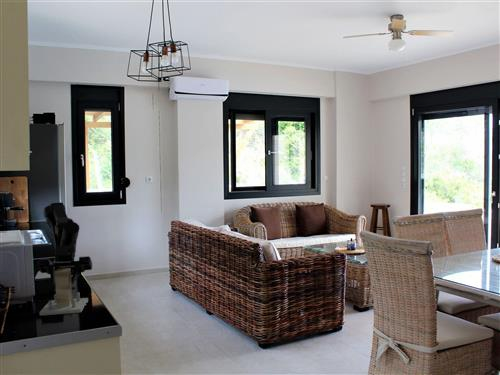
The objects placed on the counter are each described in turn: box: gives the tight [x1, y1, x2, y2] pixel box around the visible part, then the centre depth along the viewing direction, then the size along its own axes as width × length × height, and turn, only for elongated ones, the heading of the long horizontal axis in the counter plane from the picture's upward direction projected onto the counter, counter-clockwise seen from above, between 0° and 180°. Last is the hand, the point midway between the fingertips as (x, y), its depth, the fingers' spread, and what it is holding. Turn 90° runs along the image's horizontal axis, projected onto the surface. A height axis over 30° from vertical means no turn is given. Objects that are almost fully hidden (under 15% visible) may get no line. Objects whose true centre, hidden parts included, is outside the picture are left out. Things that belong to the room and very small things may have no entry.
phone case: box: [34, 270, 51, 282], centre depth 227 cm, size 9×2×16 cm
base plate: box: [39, 292, 89, 316], centre depth 176 cm, size 14×14×4 cm
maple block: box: [54, 268, 73, 307], centre depth 176 cm, size 4×4×13 cm
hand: (62, 284), depth 174 cm, fingers open, 6 cm apart
